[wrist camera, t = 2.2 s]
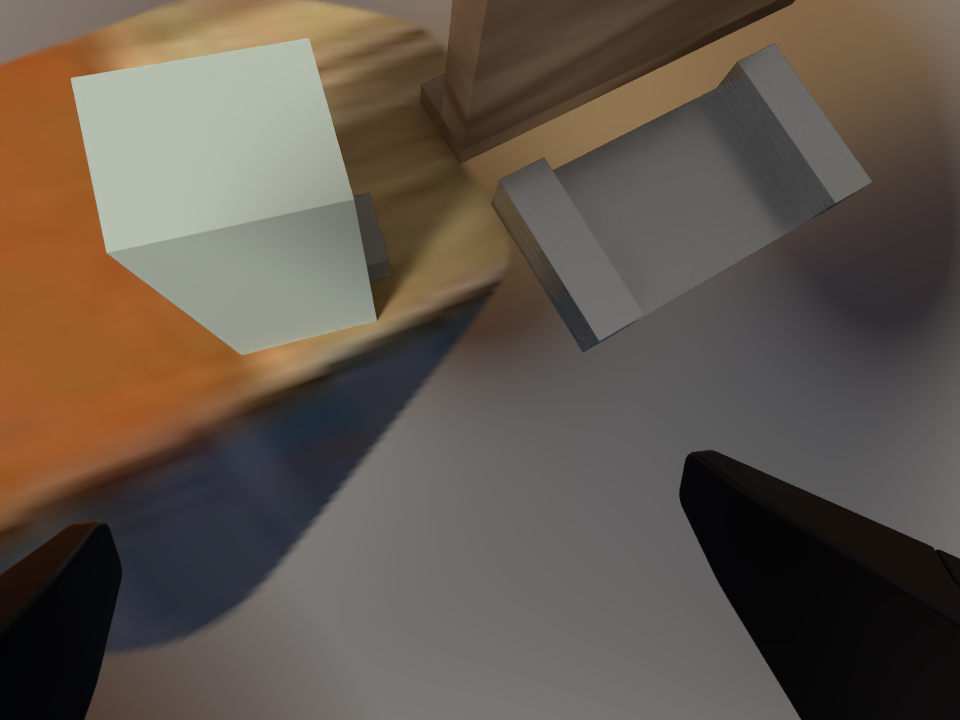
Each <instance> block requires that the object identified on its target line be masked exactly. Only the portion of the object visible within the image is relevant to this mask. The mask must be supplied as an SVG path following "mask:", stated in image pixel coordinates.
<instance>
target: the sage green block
mask: <svg viewBox="0 0 960 720" xmlns="http://www.w3.org/2000/svg"><path fill="white" fill-rule="evenodd" d="M71 82H72V87H73V91H74V96H75V101H76V106H77V111H78V116H79V121H80V125H81V130H82V135H83V140H84V145H85V150H86V155H87V159H88V164H89V169H90V174H91V179H92V184H93V189H94V194H95V198H96V203H97V208H98V213H99V218H100V223H101V228H102V232H103V237H104V242H105V247H106V252H107V254H109V255H110V256H111V257H113V258H114V259H115V260H117V261H118V262H119V263H121V264H122V265H123V266H125V267H126V268H127V269H128V270H130V271H131V272H132V273H134V274H135V275H136V276H138V277H139V278H140V279H142V280H143V281H144V282H146V283H147V284H148V285H150V286H151V287H152V288H154V289H155V290H156V291H158V292H159V293H160V294H162V295H163V296H164V297H166V298H167V299H168V300H169V301H171V302H172V303H173V304H175V305H176V306H177V307H179V308H180V309H181V310H183V311H184V312H185V313H187V314H188V315H189V316H191V317H192V318H193V319H195V320H196V321H197V322H199V323H200V324H201V325H203V326H204V327H205V328H207V329H208V330H209V331H210V332H212V333H213V334H214V335H216V336H217V337H218V338H220V339H221V340H222V341H224V342H225V343H226V344H228V345H229V346H230V347H232V348H233V349H234V350H236V351H237V352H238V353H240V354H241V355H245V354H249V353H253V352H256V351H260V350H264V349H268V348H272V347H276V346H280V345H284V344H288V343H292V342H296V341H300V340H304V339H308V338H312V337H316V336H320V335H323V334H327V333H331V332H335V331H339V330H343V329H347V328H351V327H355V326H359V325H363V324H367V323H371V322H375V321H377V319H376V314H375V308H374V303H373V298H372V292H371V287H370V282H372V281H376V280H380V279H384V278H388V277H390V265H389V258H388V255H387V251H386V248H385V244H384V241H383V237H382V234H381V230H380V227H379V223H378V220H377V216H376V213H375V209H374V206H373V202H372V199H371V195H370V193H366V194H361V195H356V196H353V194H352V190H351V187H350V183H349V180H348V176H347V173H346V169H345V165H344V162H343V158H342V155H341V151H340V148H339V144H338V140H337V137H336V133H335V130H334V126H333V123H332V119H331V115H330V112H329V108H328V105H327V101H326V98H325V94H324V90H323V87H322V83H321V80H320V76H319V73H318V69H317V65H316V62H315V58H314V55H313V51H312V48H311V44H310V40H309V38H306V39H300V40H295V41H289V42H283V43H277V44H271V45H265V46H259V47H253V48H247V49H241V50H235V51H229V52H223V53H217V54H211V55H205V56H199V57H194V58H188V59H182V60H176V61H170V62H164V63H158V64H152V65H146V66H140V67H134V68H128V69H122V70H116V71H110V72H104V73H98V74H93V75H87V76H81V77H75V78H71Z"/></svg>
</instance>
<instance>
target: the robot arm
mask: <svg viewBox="0 0 960 720" xmlns="http://www.w3.org/2000/svg"><path fill="white" fill-rule="evenodd" d="M679 497H680V502H681V505H682V508H683V510H684V512H685V514H686V516H687V518H688V520H689V523H690V525H691V527H692V529H693V531H694V533H695V535H696V537H697V539H698V541H699V544H700V546H701V548H702V550H703V552H704V554H705V556H706V558H707V560H708V563H709V564H710V567H711V569H712V571H713V573H714V575H715V577H716V579H717V581H718V583H719V584H720V586H721V588H722V590H723V591H724V593H725V595H726V596H727V598H728V599H729V602H730V603H731V605H732V606H733V608H734V610H735V611H736V613H737V615H738V616H739V618H740V620H741V621H742V623H743V625H744V626H745V628H746V629H747V631H748V633H749V634H750V636H751V638H752V639H753V641H754V643H755V644H756V646H757V648H758V649H759V651H760V653H761V654H762V656H763V658H764V659H765V661H766V662H767V664H768V666H769V667H770V669H771V671H772V672H773V674H774V676H775V677H776V679H777V681H778V682H779V684H780V685H781V687H782V689H783V690H784V692H785V694H786V695H787V697H788V699H789V700H790V702H791V703H792V705H793V707H794V709H795V710H796V712H797V713H798V715H799V717H800V718H801V720H960V559H959V558H957V557H955V556H953V555H950V554H948V553H946V552H944V551H941V550H935V549H934V548H933V547H932V546H930V545H928V544H925V543H923V542H921V541H918V540H916V539H914V538H911V537H909V536H907V535H905V534H902V533H900V532H898V531H896V530H893V529H891V528H889V527H886V526H884V525H882V524H879V523H877V522H875V521H873V520H871V519H868V518H866V517H864V516H862V515H859V514H857V513H855V512H852V511H850V510H848V509H846V508H843V507H841V506H839V505H836V504H834V503H832V502H830V501H827V500H825V499H823V498H821V497H818V496H816V495H814V494H812V493H809V492H807V491H805V490H803V489H800V488H798V487H796V486H793V485H791V484H789V483H787V482H784V481H782V480H780V479H778V478H775V477H773V476H771V475H768V474H766V473H764V472H762V471H759V470H757V469H755V468H752V467H750V466H748V465H745V464H744V463H741V462H739V461H737V460H734V459H732V458H730V457H728V456H725V455H723V454H721V453H718V452H716V451H713V450H705V451H696V452H691V453H690V454H688V456H687V457H686V460H685V464H684V469H683V475H682V480H681V485H680V491H679ZM121 580H122V565H121V561H120V558H119V555H118V552H117V549H116V546H115V543H114V540H113V537H112V534H111V531H110V528H109V526H108V525H107V523H105V522H103V521H91V522H82V523H75V524H72V525H70V526H68V527H66V528H65V529H64V530H62V531H61V532H59V533H58V534H57V535H55V536H54V537H52V538H51V539H50V540H48V541H47V542H45V543H44V544H43V545H41V546H40V547H38V548H37V549H36V550H34V551H33V552H31V553H30V554H29V555H27V556H26V557H24V558H23V559H22V560H20V561H19V562H17V563H16V564H15V565H13V566H12V567H11V568H9V569H8V570H6V571H5V572H4V573H2V574H1V575H0V720H85V716H86V714H87V711H88V708H89V706H90V703H91V700H92V696H93V693H94V691H95V688H96V684H97V681H98V677H99V673H100V670H101V666H102V661H103V657H104V653H105V649H106V644H107V640H108V636H109V632H110V627H111V623H112V619H113V614H114V610H115V606H116V602H117V597H118V593H119V589H120V585H121Z"/></svg>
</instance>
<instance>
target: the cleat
mask: <svg viewBox="0 0 960 720" xmlns="http://www.w3.org/2000/svg"><path fill="white" fill-rule="evenodd" d="M871 182H872V181H871V179H870V178H869V176H868V175H867V174H866V172H865V171H864V169H863V168H862V167H861V165H860V164H859V162H858V161H857V160H856V158H855V157H854V155H853V154H852V152H851V151H850V150H849V148H848V147H847V145H846V144H845V143H844V141H843V140H842V138H841V137H840V135H839V134H838V133H837V131H836V130H835V128H834V127H833V126H832V124H831V123H830V121H829V120H828V119H827V117H826V116H825V114H824V113H823V111H822V110H821V109H820V107H819V106H818V104H817V103H816V101H815V100H814V99H813V97H812V96H811V94H810V93H809V91H808V90H807V89H806V87H805V86H804V84H803V83H802V82H801V80H800V79H799V77H798V76H797V74H796V73H795V71H794V70H793V69H792V67H791V66H790V64H789V63H788V62H787V60H786V59H785V57H784V56H783V55H782V53H781V52H780V50H779V49H778V47H777V46H776V45H775V43H774V44H772V45H770V46H768V47H766V48H764V49H762V50H760V51H758V52H756V53H754V54H752V55H750V56H748V57H746V58H744V59H742V60H740V61H738V62H737V63H736V64H735V66H734V67H733V68H732V69H731V71H730V72H729V73H728V74H727V76H726V77H725V78H724V79H723V81H722V82H721V83H720V84H719V86H718V87H717V88H716V89H714V90H712V91H710V92H708V93H706V94H704V95H702V96H700V97H698V98H696V99H694V100H692V101H690V102H688V103H686V104H684V105H682V106H680V107H678V108H676V109H674V110H672V111H670V112H668V113H666V114H664V115H662V116H660V117H658V118H656V119H654V120H652V121H650V122H648V123H646V124H644V125H642V126H640V127H638V128H636V129H634V130H632V131H630V132H628V133H626V134H624V135H622V136H620V137H618V138H616V139H614V140H612V141H611V142H608V143H606V144H605V145H602V146H601V147H599V148H596V149H595V150H592V151H591V152H588V153H587V154H585V155H583V156H581V157H579V158H577V159H575V160H573V161H571V162H569V163H567V164H565V165H563V166H561V167H559V168H557V169H555V170H553V171H552V169H551V168H550V166H549V164H548V163H547V161H546V160H545V158H542V159H540V160H538V161H536V162H534V163H532V164H530V165H528V166H526V167H524V168H522V169H520V170H518V171H516V172H514V173H512V174H510V175H508V176H506V177H503V178H501V179H500V180H499V181H498V185H497V188H496V191H495V194H494V198H493V201H492V206H493V207H494V209H495V211H496V212H497V214H498V216H499V217H500V219H501V220H502V222H503V224H504V225H505V227H506V229H507V230H508V232H509V233H510V235H511V237H512V238H513V240H514V242H515V243H516V245H517V246H518V248H519V250H520V251H521V253H522V254H523V256H524V258H525V259H526V261H527V263H528V264H529V266H530V267H531V269H532V271H533V272H534V274H535V276H536V277H537V279H538V280H539V282H540V284H541V285H542V287H543V289H544V290H545V292H546V293H547V295H548V296H549V298H550V300H551V301H552V303H553V305H554V306H555V308H556V310H557V311H558V313H559V315H560V316H561V318H562V319H563V321H564V323H565V324H566V326H567V327H568V329H569V331H570V332H571V334H572V335H573V337H574V339H575V340H576V342H577V343H578V345H579V347H580V349H581V350H582V352H586V351H587V350H589V349H591V348H592V347H594V346H596V345H597V344H599V343H601V342H603V341H604V340H606V339H608V338H609V337H611V336H613V335H615V334H616V333H618V332H619V331H621V330H623V329H625V328H627V327H628V326H630V325H632V324H633V323H635V322H637V321H638V320H640V319H642V318H644V317H645V316H647V315H649V314H650V313H652V312H654V311H656V310H657V309H659V308H661V307H663V306H664V305H666V304H668V303H669V302H671V301H673V300H674V299H676V298H678V297H679V296H681V295H683V294H685V293H686V292H688V291H690V290H692V289H693V288H695V287H697V286H698V285H700V284H702V283H704V282H705V281H707V280H709V279H710V278H712V277H714V276H715V275H717V274H719V273H720V272H722V271H724V270H726V269H727V268H729V267H731V266H732V265H734V264H736V263H738V262H739V261H741V260H743V259H745V258H746V257H748V256H750V255H751V254H753V253H755V252H756V251H758V250H760V249H762V248H763V247H765V246H767V245H768V244H770V243H772V242H774V241H775V240H777V239H779V238H780V237H782V236H784V235H786V234H787V233H789V232H791V231H792V230H794V229H796V228H798V227H799V226H801V225H803V224H804V223H806V222H808V221H810V220H811V219H813V218H815V217H816V216H818V215H820V214H822V213H823V212H825V211H827V210H828V209H830V208H832V207H834V206H835V205H837V204H839V203H840V202H842V201H843V200H845V199H846V198H848V197H850V196H851V195H853V194H854V193H856V192H857V191H859V190H860V189H862V188H864V187H865V186H867V185H868V184H870V183H871Z"/></svg>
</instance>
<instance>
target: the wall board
mask: <svg viewBox="0 0 960 720" xmlns="http://www.w3.org/2000/svg"><path fill="white" fill-rule="evenodd" d="M794 1H795V0H453V2H452V12H451V23H450V33H449V44H448V54H447V64H446V74H443V75H441V76H439V77H437V78H434V79H432V80H430V81H428V82H425V83H423V84H421V102H422V103H423V105H424V107H425V108H426V110H427V111H428V113H429V115H430V116H431V118H432V120H433V121H434V123H435V125H436V126H437V128H438V129H439V131H440V133H441V134H442V136H443V138H444V139H445V141H446V142H447V144H448V146H449V147H450V149H451V151H452V152H453V154H454V155H455V157H456V159H457V160H458V162H459V164H461V163H463V162H465V161H467V160H469V159H471V158H473V157H475V156H477V155H479V154H481V153H483V152H486V151H488V150H490V149H492V148H494V147H496V146H498V145H500V144H502V143H504V142H506V141H508V140H510V139H513V138H515V137H517V136H519V135H521V134H523V133H525V132H527V131H529V130H531V129H533V128H535V127H537V126H540V125H542V124H544V123H546V122H548V121H550V120H552V119H554V118H556V117H558V116H560V115H562V114H564V113H567V112H569V111H571V110H573V109H575V108H577V107H579V106H581V105H583V104H585V103H587V102H589V101H591V100H593V99H596V98H598V97H600V96H602V95H603V94H606V93H608V92H610V91H612V90H614V89H616V88H618V87H621V86H623V85H625V84H627V83H629V82H631V81H633V80H635V79H637V78H639V77H641V76H643V75H645V74H648V73H650V72H652V71H654V70H656V69H658V68H660V67H662V66H664V65H666V64H668V63H670V62H672V61H675V60H676V59H679V58H681V57H683V56H685V55H687V54H689V53H691V52H693V51H695V50H697V49H699V48H701V47H704V46H705V45H708V44H710V43H712V42H714V41H716V40H718V39H720V38H722V37H724V36H726V35H728V34H731V33H733V32H735V31H737V30H739V29H741V28H743V27H745V26H747V25H749V24H751V23H753V22H756V21H757V20H760V19H762V18H764V17H766V16H768V15H770V14H772V13H774V12H776V11H778V10H780V9H783V8H785V7H787V6H789V5H791V4H792V3H793V2H794Z"/></svg>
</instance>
